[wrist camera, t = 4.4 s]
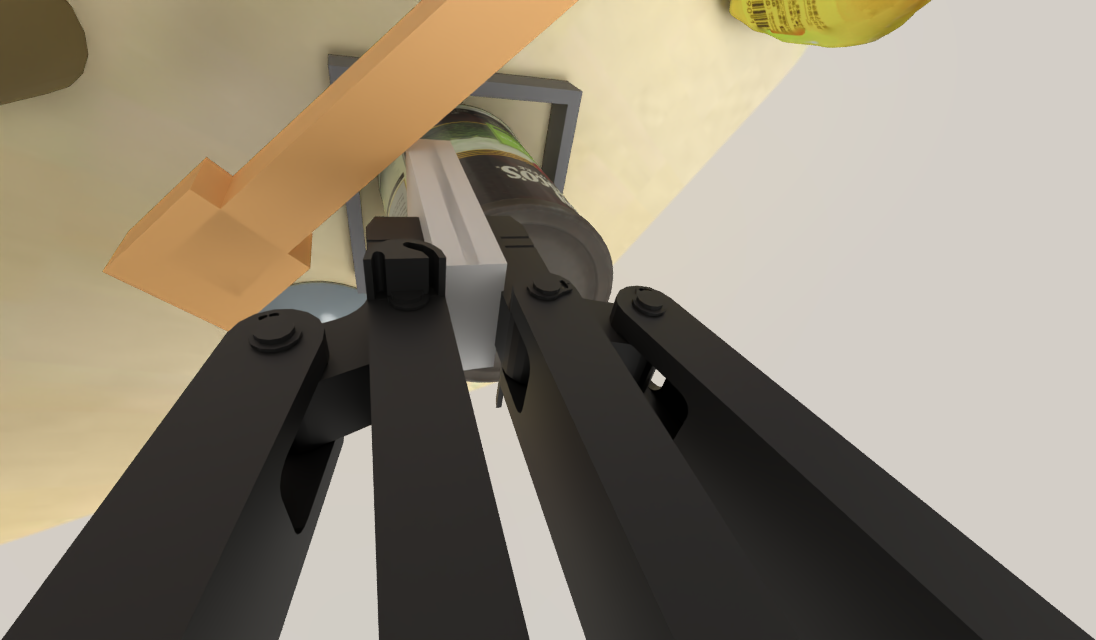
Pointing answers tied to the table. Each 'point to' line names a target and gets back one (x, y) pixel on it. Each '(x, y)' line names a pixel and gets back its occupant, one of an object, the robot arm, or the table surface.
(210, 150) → the table surface
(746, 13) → the bottle
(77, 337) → the table surface
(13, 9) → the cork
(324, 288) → the slate coaster
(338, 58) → the square picture frame
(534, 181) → the coffee can
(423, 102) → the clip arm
